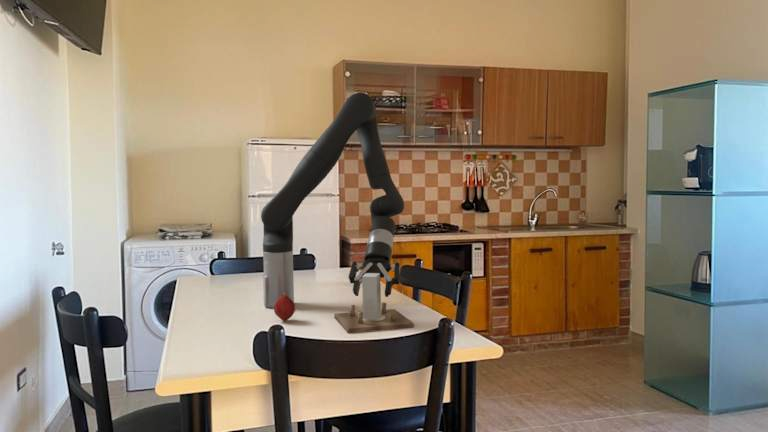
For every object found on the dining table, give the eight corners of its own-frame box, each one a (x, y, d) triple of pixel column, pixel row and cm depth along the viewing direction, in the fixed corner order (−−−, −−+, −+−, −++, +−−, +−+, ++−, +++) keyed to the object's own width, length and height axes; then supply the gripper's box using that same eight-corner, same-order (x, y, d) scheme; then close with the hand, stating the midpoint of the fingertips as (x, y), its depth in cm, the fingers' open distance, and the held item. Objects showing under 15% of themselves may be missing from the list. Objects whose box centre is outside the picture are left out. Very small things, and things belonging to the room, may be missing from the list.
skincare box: (366, 314, 175) (365, 272, 174) (381, 314, 175) (380, 272, 174) (362, 319, 169) (361, 276, 168) (377, 320, 169) (377, 276, 168)
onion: (276, 318, 178) (276, 291, 177) (296, 318, 178) (296, 291, 177) (272, 323, 172) (271, 295, 172) (293, 323, 172) (292, 295, 172)
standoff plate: (348, 333, 161) (347, 317, 160) (334, 317, 178) (333, 303, 178) (413, 327, 166) (413, 311, 165) (394, 313, 183) (394, 299, 183)
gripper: (353, 240, 179) (343, 286, 169) (401, 240, 176) (394, 287, 166) (358, 255, 185) (348, 301, 174) (405, 256, 182) (398, 303, 171)
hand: (371, 294), depth 170 cm, fingers open, 8 cm apart
